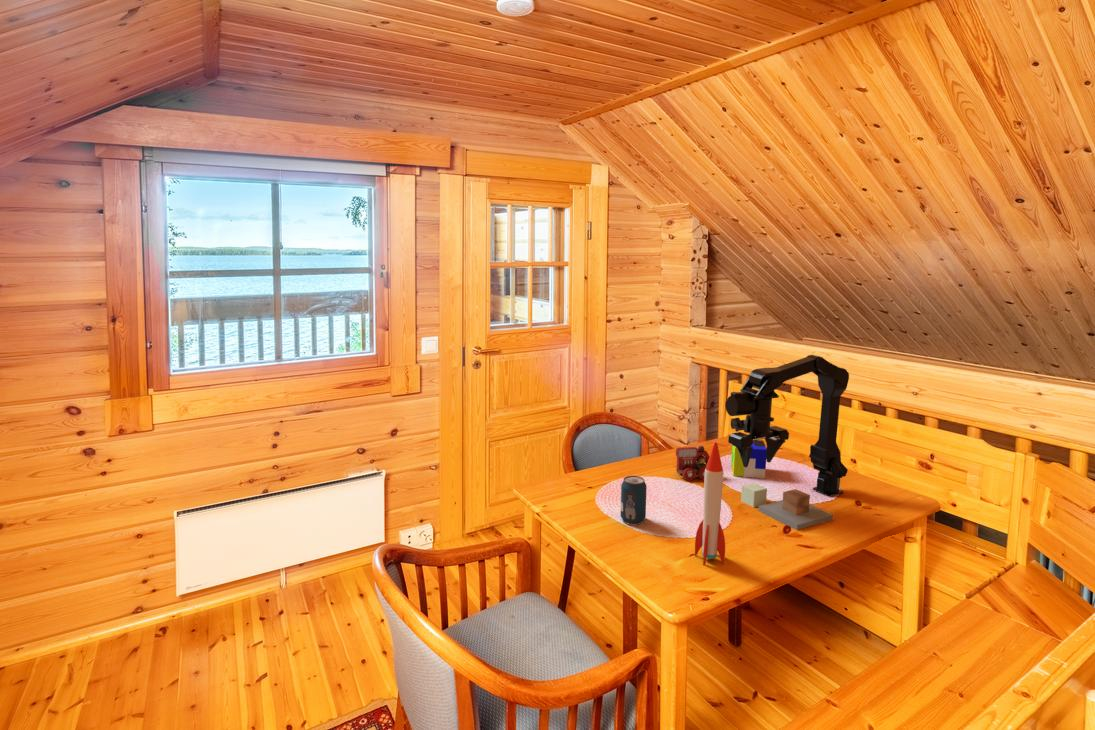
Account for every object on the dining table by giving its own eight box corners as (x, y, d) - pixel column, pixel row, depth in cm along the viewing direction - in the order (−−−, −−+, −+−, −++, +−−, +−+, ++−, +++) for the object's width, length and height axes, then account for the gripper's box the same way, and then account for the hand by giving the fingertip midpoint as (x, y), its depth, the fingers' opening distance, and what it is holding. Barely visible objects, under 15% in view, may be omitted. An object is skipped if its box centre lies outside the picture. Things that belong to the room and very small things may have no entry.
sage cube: (753, 498, 193) (754, 482, 192) (765, 504, 189) (767, 488, 188) (741, 501, 191) (742, 485, 190) (753, 507, 186) (754, 491, 185)
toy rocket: (694, 555, 158) (698, 439, 152) (715, 553, 159) (720, 437, 153) (703, 566, 152) (708, 446, 147) (725, 564, 153) (731, 444, 148)
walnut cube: (794, 505, 184) (795, 488, 183) (808, 511, 180) (810, 495, 179) (782, 508, 182) (783, 492, 181) (795, 515, 177) (797, 498, 176)
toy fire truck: (715, 479, 208) (717, 449, 206) (679, 481, 206) (680, 451, 204) (706, 472, 215) (708, 442, 213) (671, 474, 213) (672, 444, 211)
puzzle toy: (764, 478, 209) (767, 449, 207) (733, 476, 211) (735, 447, 209) (761, 468, 219) (763, 440, 217) (730, 466, 220) (732, 438, 219)
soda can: (640, 514, 181) (642, 474, 179) (648, 524, 175) (650, 483, 172) (617, 515, 180) (618, 475, 178) (624, 526, 174) (625, 484, 171)
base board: (793, 501, 190) (793, 497, 190) (832, 519, 178) (833, 514, 178) (758, 510, 184) (758, 505, 184) (796, 529, 172) (797, 524, 171)
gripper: (763, 403, 195) (759, 452, 198) (716, 410, 187) (713, 461, 190) (792, 411, 186) (788, 462, 189) (744, 419, 177) (740, 473, 180)
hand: (756, 464), depth 187 cm, fingers open, 9 cm apart
